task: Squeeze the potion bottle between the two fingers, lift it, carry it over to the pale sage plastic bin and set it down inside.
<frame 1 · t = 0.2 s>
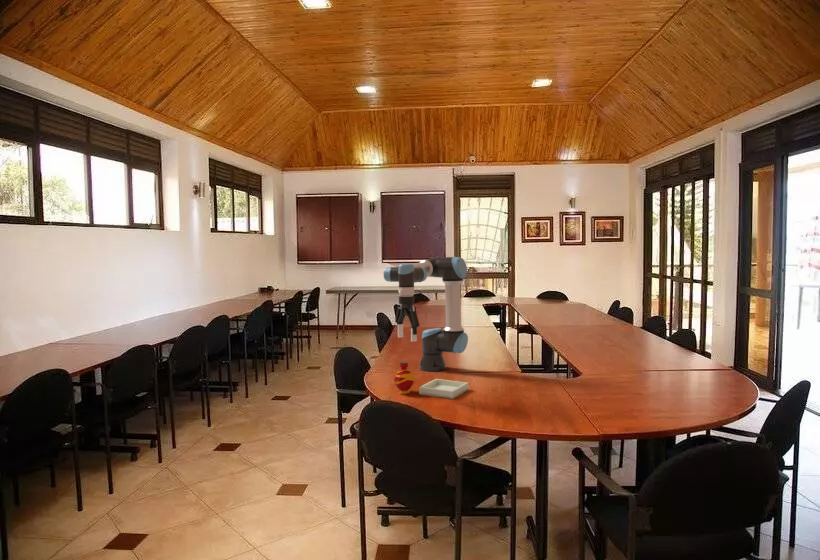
hand: (407, 339, 261), 26 cm above the table, fingers open, 13 cm apart
bin: (444, 391, 263), on the table
potion bottle: (404, 392, 264), on the table
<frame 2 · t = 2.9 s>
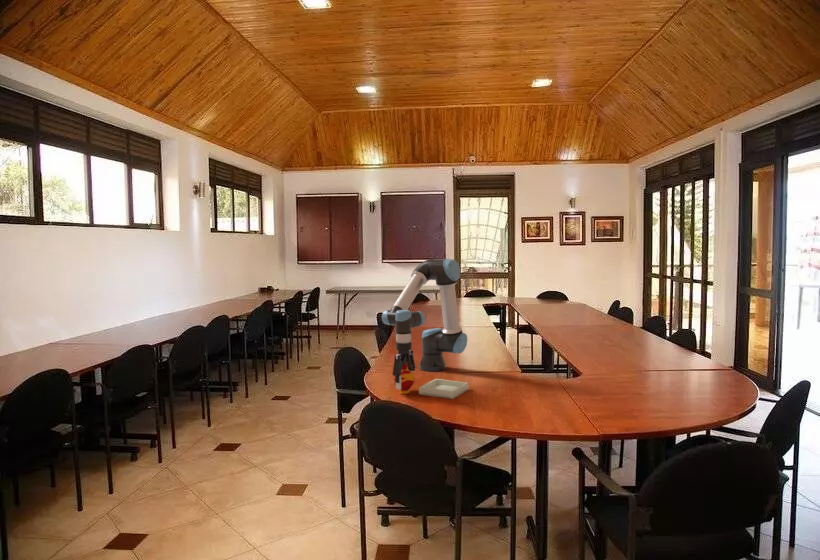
hand: (404, 386, 264), 3 cm above the table, fingers closed on potion bottle, 10 cm apart
potion bottle: (404, 392, 264), on the table, touching gripper
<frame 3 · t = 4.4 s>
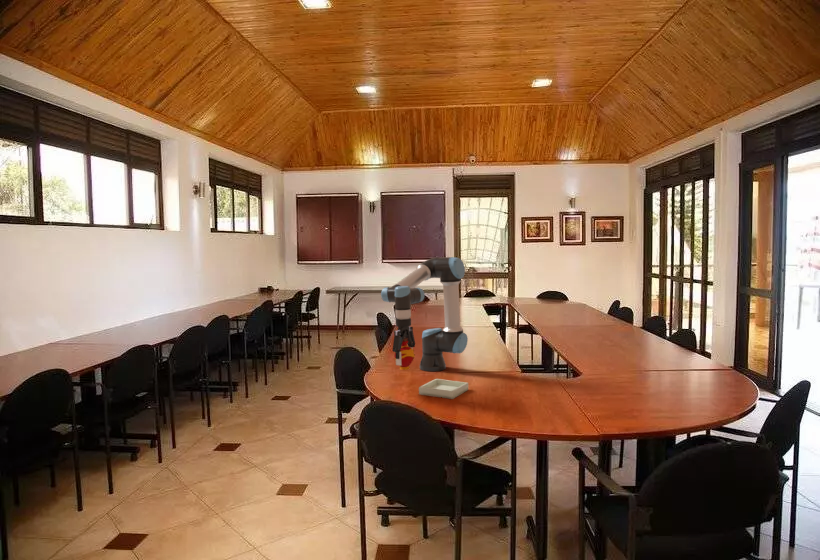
hand: (404, 362, 263), 15 cm above the table, fingers closed on potion bottle, 10 cm apart
potion bottle: (405, 368, 264), point 11 cm above the table, touching gripper
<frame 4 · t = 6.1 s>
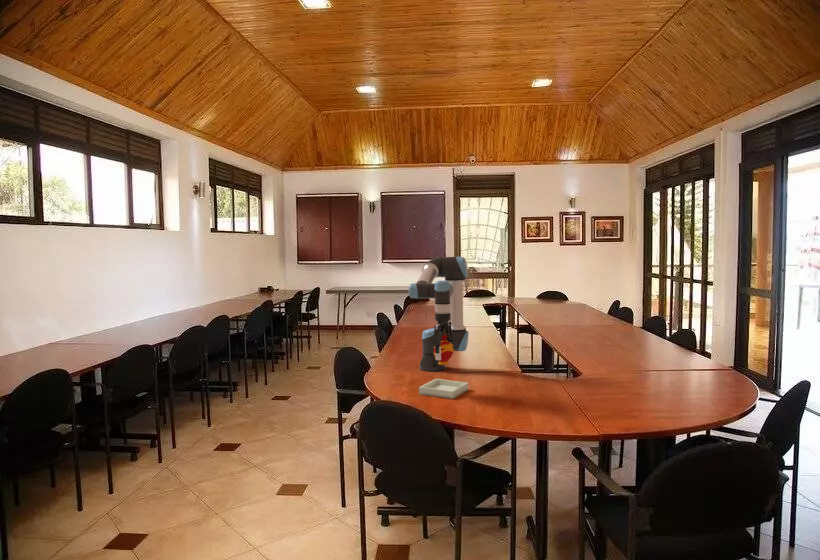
hand: (443, 357, 262), 17 cm above the table, fingers closed on potion bottle, 10 cm apart
potion bottle: (443, 363, 262), point 14 cm above the table, touching gripper
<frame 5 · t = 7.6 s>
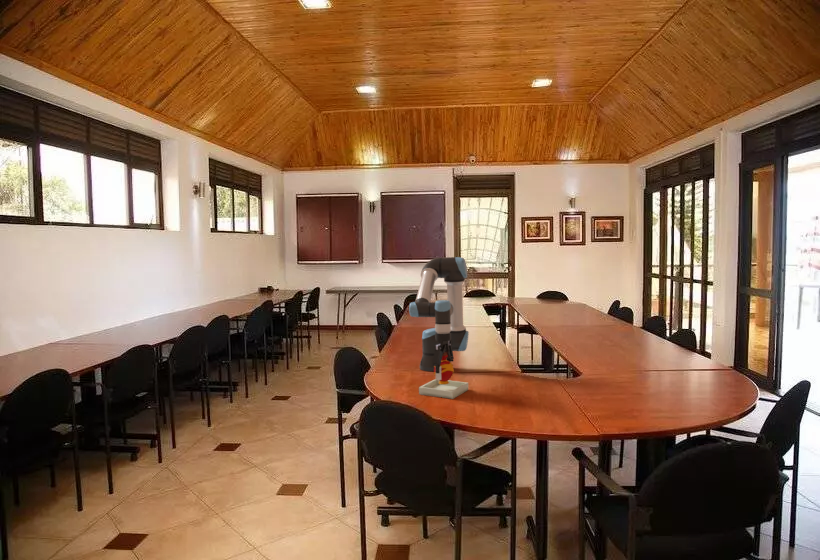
hand: (443, 377, 263), 7 cm above the table, fingers closed on potion bottle, 10 cm apart
potion bottle: (444, 383, 263), point 4 cm above the table, touching gripper
when the fingers open (6 cm above the table, at t = 9.0 s): potion bottle drops 2 cm, resting on bin.
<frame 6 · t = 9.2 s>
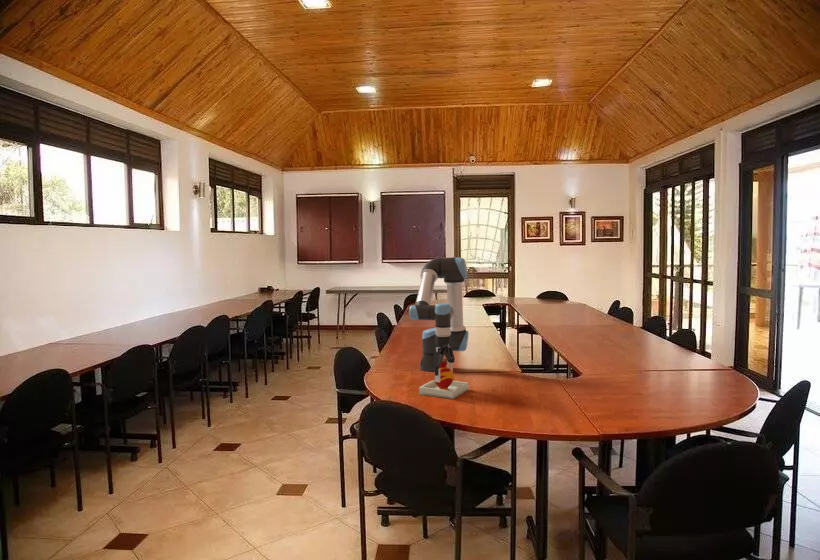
hand: (443, 378, 263), 7 cm above the table, fingers open, 13 cm apart
potion bottle: (443, 390, 263), point 1 cm above the table, touching bin
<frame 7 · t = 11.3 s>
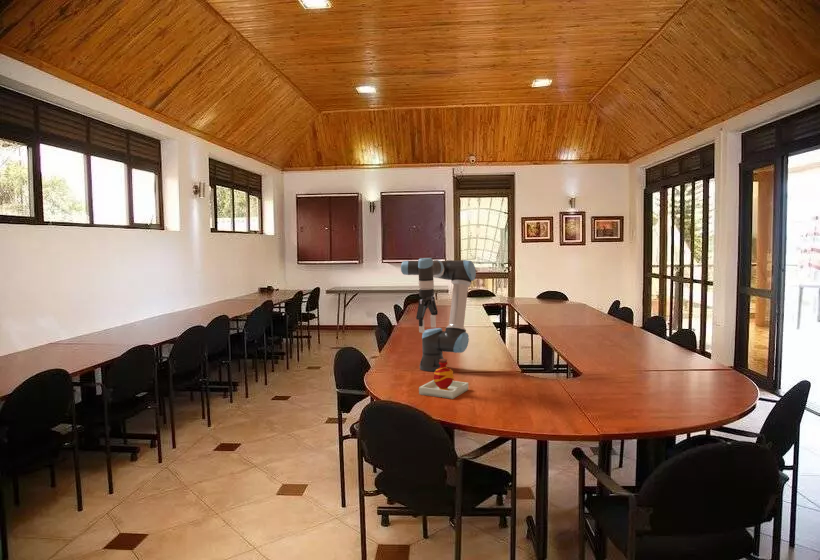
hand: (427, 329, 274), 29 cm above the table, fingers open, 13 cm apart
nothing on the table moved.
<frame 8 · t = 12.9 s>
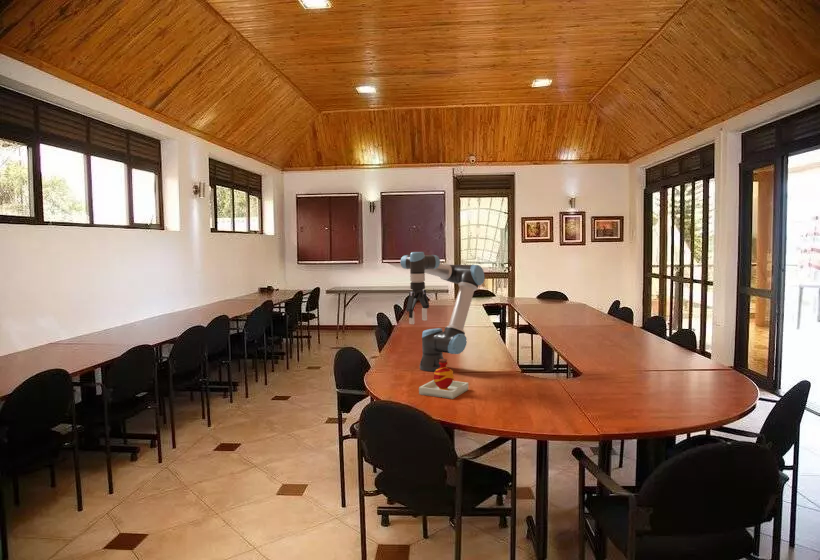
hand: (418, 322, 281), 32 cm above the table, fingers open, 13 cm apart
nothing on the table moved.
at the end: potion bottle inside the target area on the bin (0.1 cm from its centre), point 0.8 cm above the bin's base; potion bottle tilted 0°; the gripper is holding nothing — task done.
